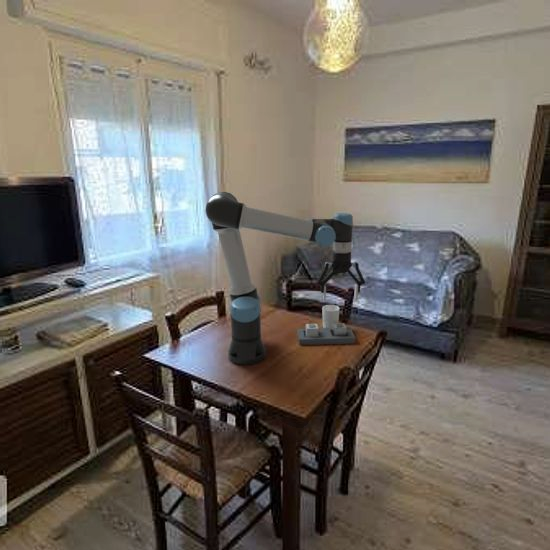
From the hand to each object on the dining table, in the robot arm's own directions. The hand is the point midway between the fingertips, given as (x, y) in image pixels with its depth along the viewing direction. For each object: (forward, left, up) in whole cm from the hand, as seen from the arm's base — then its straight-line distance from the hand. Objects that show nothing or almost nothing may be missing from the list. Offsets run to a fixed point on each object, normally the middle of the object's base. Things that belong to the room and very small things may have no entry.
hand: (339, 299), depth 172 cm
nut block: (0, 0, -18) cm, 18 cm away
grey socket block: (-6, 0, -18) cm, 19 cm away
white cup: (-2, +11, -18) cm, 21 cm away
